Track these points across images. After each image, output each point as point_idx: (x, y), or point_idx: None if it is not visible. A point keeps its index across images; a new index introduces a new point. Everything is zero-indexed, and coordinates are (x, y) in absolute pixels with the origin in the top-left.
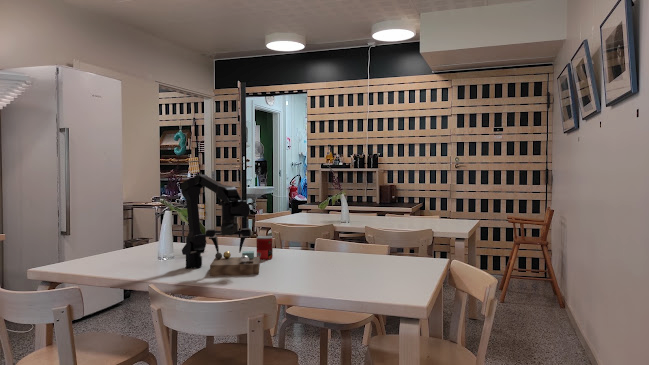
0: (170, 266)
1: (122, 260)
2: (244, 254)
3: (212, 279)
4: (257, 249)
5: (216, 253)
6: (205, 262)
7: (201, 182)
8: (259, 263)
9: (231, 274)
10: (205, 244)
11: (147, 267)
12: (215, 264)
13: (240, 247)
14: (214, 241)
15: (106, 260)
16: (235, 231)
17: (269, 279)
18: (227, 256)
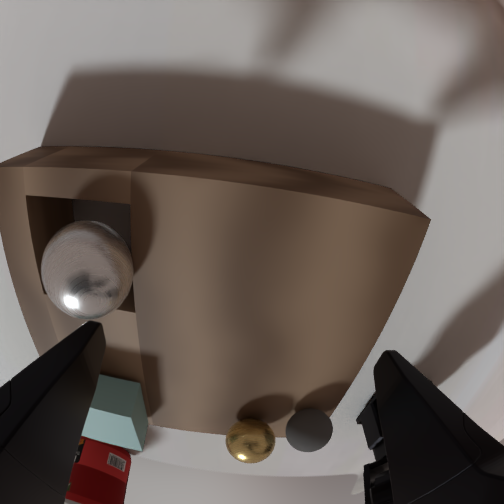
0: None
1: None
2: (116, 405)
3: (388, 62)
4: (119, 480)
5: (326, 443)
6: (323, 451)
7: None
8: None
9: (230, 159)
10: (374, 498)
11: (494, 392)
12: (381, 248)
13: (51, 365)
14: (500, 457)
15: (496, 433)
16: None
17: (7, 5)
18: (248, 425)
